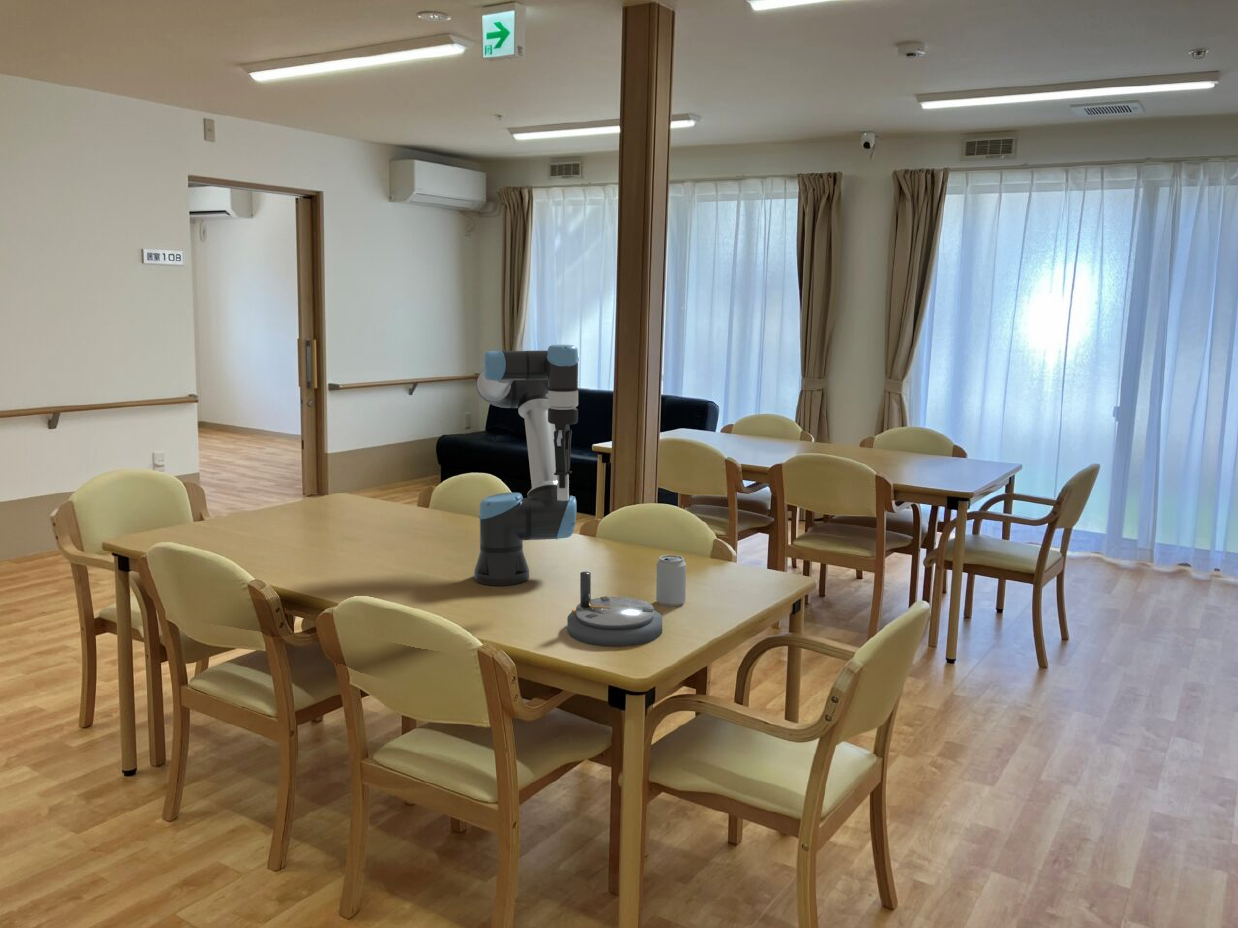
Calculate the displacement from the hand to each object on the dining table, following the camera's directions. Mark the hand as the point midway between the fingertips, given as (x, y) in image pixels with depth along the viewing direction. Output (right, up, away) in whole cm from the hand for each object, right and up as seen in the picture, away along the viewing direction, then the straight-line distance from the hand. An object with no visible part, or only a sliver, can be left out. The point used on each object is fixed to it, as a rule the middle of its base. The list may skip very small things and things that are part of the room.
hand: (563, 499), depth 245 cm
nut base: (+13, -30, -20) cm, 38 cm away
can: (+27, -26, 0) cm, 38 cm away
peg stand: (+13, -26, -21) cm, 36 cm away
